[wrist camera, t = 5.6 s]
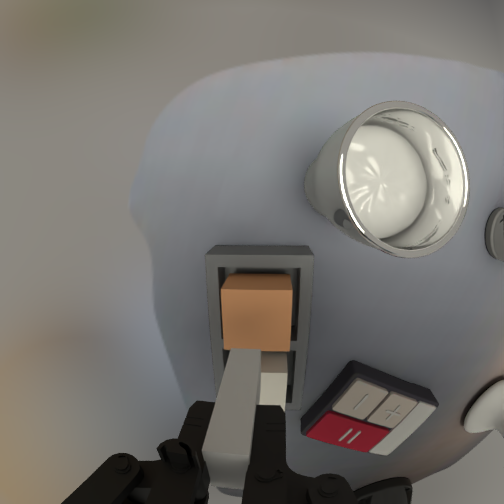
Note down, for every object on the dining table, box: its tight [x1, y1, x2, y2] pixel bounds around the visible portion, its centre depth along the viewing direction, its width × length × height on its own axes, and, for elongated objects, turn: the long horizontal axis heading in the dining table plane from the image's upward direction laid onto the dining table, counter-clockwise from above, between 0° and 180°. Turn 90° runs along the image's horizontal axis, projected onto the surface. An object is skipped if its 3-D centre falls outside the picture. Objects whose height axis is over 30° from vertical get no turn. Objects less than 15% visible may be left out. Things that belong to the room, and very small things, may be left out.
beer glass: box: [304, 101, 470, 258], centre depth 17 cm, size 7×7×15 cm
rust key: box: [221, 273, 293, 351], centre depth 22 cm, size 5×5×4 cm
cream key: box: [259, 351, 288, 412], centre depth 24 cm, size 5×5×4 cm
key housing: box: [205, 245, 314, 410], centre depth 25 cm, size 16×9×4 cm, turn 0°
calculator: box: [301, 360, 439, 456], centre depth 27 cm, size 11×4×15 cm
